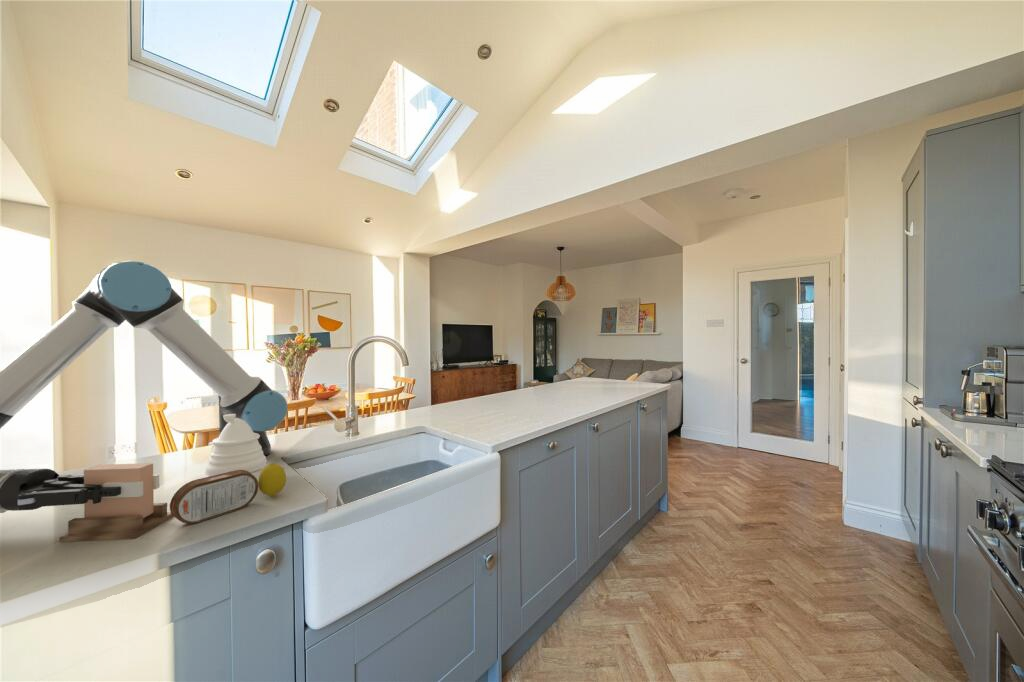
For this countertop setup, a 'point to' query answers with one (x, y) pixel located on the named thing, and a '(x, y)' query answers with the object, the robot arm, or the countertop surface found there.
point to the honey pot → (236, 449)
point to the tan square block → (121, 504)
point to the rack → (115, 526)
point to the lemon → (272, 479)
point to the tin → (213, 496)
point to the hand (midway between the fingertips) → (149, 485)
